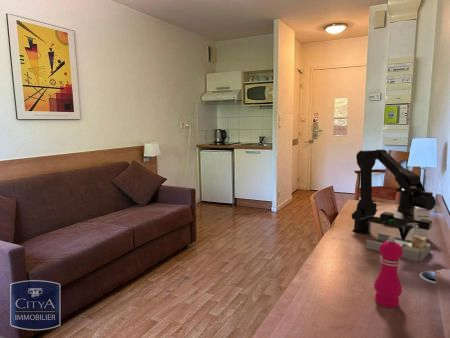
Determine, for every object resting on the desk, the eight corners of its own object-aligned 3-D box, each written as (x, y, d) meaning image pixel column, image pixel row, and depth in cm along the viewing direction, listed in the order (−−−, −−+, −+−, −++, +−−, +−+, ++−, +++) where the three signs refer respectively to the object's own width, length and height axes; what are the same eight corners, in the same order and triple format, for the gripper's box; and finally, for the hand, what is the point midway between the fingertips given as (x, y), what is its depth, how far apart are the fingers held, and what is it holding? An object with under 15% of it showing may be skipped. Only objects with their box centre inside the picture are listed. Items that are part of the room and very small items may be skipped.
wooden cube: (411, 246, 133) (412, 237, 132) (414, 244, 136) (415, 235, 135) (422, 249, 130) (423, 239, 129) (425, 246, 133) (426, 237, 132)
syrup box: (428, 239, 149) (431, 208, 147) (414, 238, 150) (417, 207, 148) (423, 235, 154) (426, 205, 152) (409, 234, 156) (412, 204, 154)
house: (365, 222, 175) (367, 207, 174) (377, 209, 202) (378, 197, 201) (414, 230, 162) (416, 214, 161) (420, 216, 189) (421, 202, 188)
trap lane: (366, 247, 138) (366, 239, 137) (378, 239, 148) (378, 232, 147) (420, 262, 124) (421, 253, 123) (429, 252, 134) (430, 244, 133)
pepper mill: (368, 295, 99) (373, 232, 96) (391, 295, 100) (396, 232, 97) (381, 309, 92) (387, 241, 89) (406, 308, 92) (412, 240, 90)
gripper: (376, 203, 135) (373, 239, 137) (427, 212, 122) (423, 251, 125) (385, 198, 143) (382, 232, 145) (434, 206, 130) (430, 244, 132)
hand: (403, 240), depth 137 cm, fingers closed
